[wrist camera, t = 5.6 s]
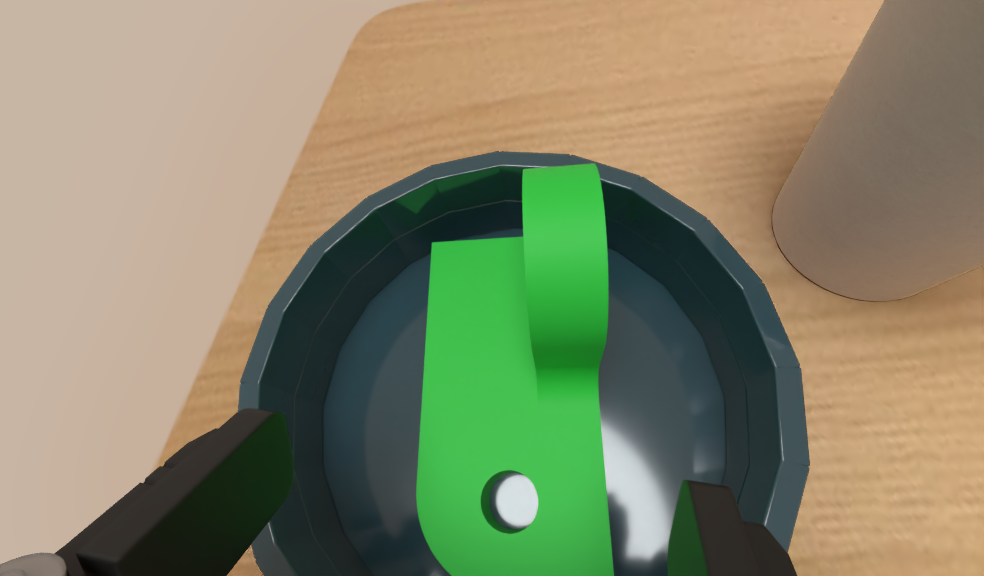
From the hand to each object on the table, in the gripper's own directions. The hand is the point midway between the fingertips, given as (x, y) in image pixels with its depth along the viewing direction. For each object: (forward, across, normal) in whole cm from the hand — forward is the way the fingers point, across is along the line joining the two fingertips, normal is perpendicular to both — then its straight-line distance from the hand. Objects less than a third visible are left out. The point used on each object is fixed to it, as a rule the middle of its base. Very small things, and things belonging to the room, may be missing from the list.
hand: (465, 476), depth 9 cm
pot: (+8, 0, +4) cm, 9 cm away
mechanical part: (+8, 0, +4) cm, 9 cm away
